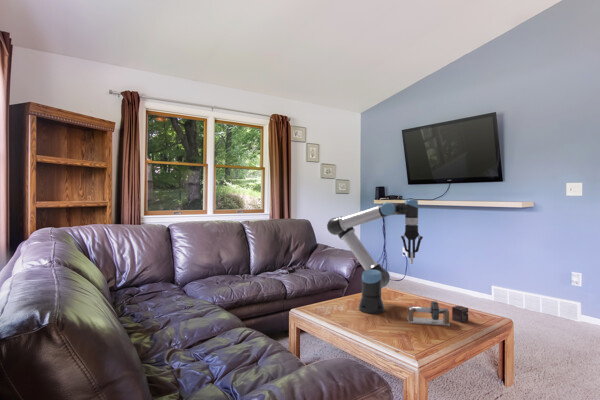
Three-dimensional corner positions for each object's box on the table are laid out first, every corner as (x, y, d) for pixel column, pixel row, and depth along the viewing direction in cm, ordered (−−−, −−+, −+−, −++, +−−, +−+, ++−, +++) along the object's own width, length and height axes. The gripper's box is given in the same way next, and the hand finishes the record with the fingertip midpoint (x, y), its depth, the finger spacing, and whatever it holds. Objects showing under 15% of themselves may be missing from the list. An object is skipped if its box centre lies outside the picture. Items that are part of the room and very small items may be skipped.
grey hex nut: (434, 321, 177) (434, 304, 177) (430, 316, 186) (430, 299, 186) (439, 322, 176) (439, 304, 177) (435, 316, 185) (435, 299, 186)
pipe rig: (409, 322, 180) (409, 308, 180) (407, 318, 187) (407, 304, 187) (450, 325, 176) (450, 310, 177) (446, 321, 183) (446, 306, 183)
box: (461, 323, 180) (461, 309, 180) (451, 319, 186) (451, 306, 186) (468, 321, 183) (468, 308, 183) (458, 318, 188) (458, 305, 189)
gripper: (401, 224, 201) (401, 263, 200) (423, 225, 198) (423, 264, 198) (399, 224, 208) (399, 261, 208) (421, 224, 206) (421, 262, 205)
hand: (411, 263), depth 203 cm, fingers closed
